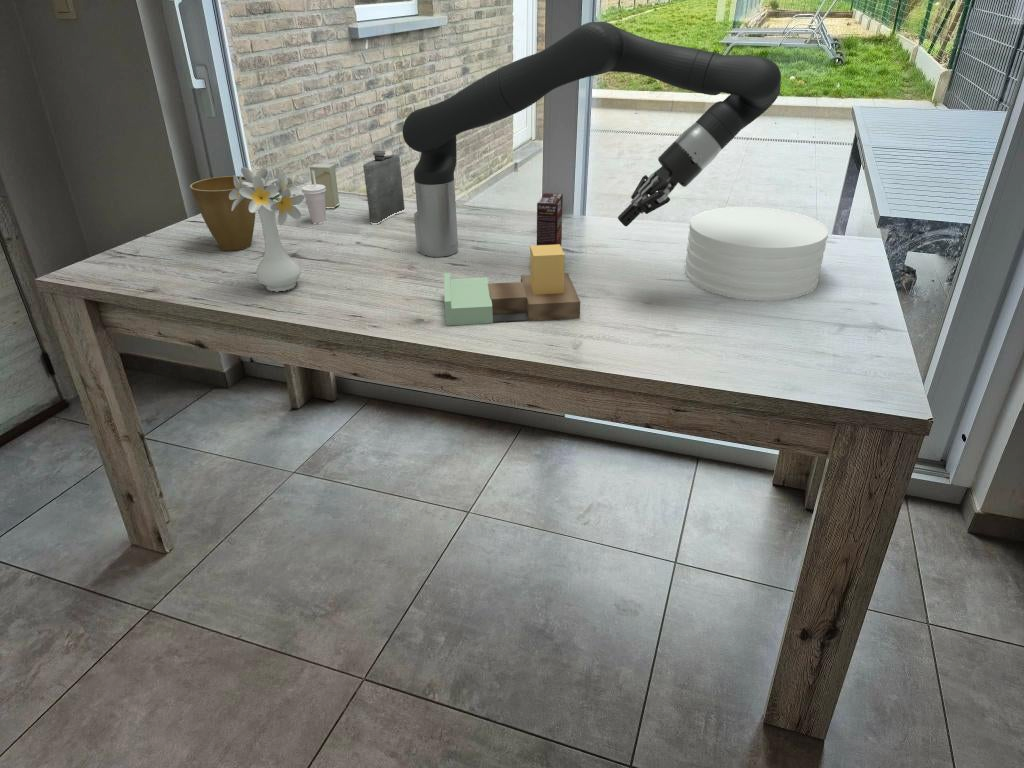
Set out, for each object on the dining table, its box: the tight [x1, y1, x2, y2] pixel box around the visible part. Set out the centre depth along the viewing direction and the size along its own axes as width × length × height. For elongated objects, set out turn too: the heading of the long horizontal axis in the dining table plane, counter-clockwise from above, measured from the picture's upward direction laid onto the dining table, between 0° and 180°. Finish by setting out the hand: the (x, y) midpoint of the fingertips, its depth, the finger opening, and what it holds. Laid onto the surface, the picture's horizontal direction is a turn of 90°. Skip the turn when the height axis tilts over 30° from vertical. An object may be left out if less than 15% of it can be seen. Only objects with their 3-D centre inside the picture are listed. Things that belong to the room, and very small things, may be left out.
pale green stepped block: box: [443, 272, 494, 326], centre depth 141 cm, size 9×15×5 cm, turn 5°
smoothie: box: [301, 171, 327, 224], centre depth 191 cm, size 6×6×14 cm
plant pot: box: [189, 175, 256, 252], centre depth 174 cm, size 15×15×16 cm
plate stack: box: [684, 206, 829, 301], centre depth 152 cm, size 28×28×12 cm
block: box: [529, 244, 566, 295], centre depth 139 cm, size 6×6×8 cm
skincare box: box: [309, 163, 340, 207], centre depth 204 cm, size 6×4×12 cm
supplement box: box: [536, 192, 564, 246], centre depth 157 cm, size 9×5×16 cm, turn 168°
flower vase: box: [229, 167, 305, 293], centre depth 147 cm, size 13×18×25 cm
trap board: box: [488, 272, 581, 324], centre depth 142 cm, size 17×15×4 cm
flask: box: [362, 150, 405, 223], centre depth 193 cm, size 4×14×18 cm, turn 153°
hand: (621, 222), depth 136 cm, fingers closed
